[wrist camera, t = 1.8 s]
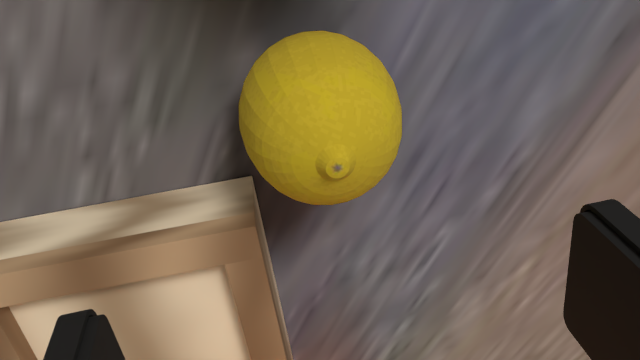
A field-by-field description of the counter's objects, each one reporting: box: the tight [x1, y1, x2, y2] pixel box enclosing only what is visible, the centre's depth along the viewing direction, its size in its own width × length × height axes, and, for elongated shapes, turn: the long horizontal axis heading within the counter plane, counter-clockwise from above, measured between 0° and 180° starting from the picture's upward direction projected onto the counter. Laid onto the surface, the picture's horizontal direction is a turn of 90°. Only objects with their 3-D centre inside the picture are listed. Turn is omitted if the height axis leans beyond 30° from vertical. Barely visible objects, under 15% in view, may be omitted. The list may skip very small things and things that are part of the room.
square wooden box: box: [0, 176, 293, 360], centre depth 26 cm, size 12×12×4 cm
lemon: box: [239, 31, 402, 205], centre depth 20 cm, size 6×6×8 cm
